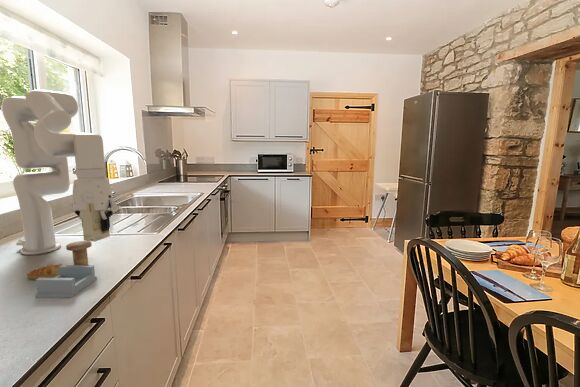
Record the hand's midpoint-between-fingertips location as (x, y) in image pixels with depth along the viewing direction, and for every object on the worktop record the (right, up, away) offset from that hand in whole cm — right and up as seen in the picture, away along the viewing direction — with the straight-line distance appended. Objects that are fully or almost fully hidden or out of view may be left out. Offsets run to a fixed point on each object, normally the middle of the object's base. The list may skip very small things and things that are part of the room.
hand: (96, 229), depth 96 cm
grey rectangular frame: (-6, -17, -4) cm, 19 cm away
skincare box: (0, -3, +1) cm, 3 cm away
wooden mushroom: (-9, -15, +6) cm, 19 cm away
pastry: (-18, -16, +3) cm, 25 cm away
